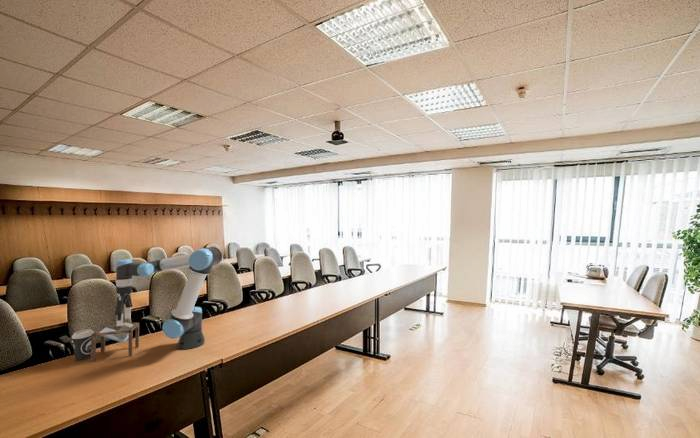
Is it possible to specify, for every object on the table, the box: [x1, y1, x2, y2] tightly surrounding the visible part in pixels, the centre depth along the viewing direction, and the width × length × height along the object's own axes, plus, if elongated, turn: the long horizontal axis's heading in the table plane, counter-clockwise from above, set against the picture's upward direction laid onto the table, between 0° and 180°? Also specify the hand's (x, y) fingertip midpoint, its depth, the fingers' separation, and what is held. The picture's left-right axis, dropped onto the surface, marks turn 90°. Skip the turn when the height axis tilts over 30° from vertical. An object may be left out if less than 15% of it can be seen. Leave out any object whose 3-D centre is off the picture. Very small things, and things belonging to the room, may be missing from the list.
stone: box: [116, 321, 133, 339], centre depth 173 cm, size 5×5×7 cm
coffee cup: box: [71, 328, 95, 362], centre depth 166 cm, size 10×10×15 cm
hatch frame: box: [90, 322, 140, 363], centre depth 171 cm, size 18×14×15 cm
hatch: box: [99, 327, 129, 344], centre depth 171 cm, size 14×11×1 cm
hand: (123, 322), depth 173 cm, fingers open, 13 cm apart
